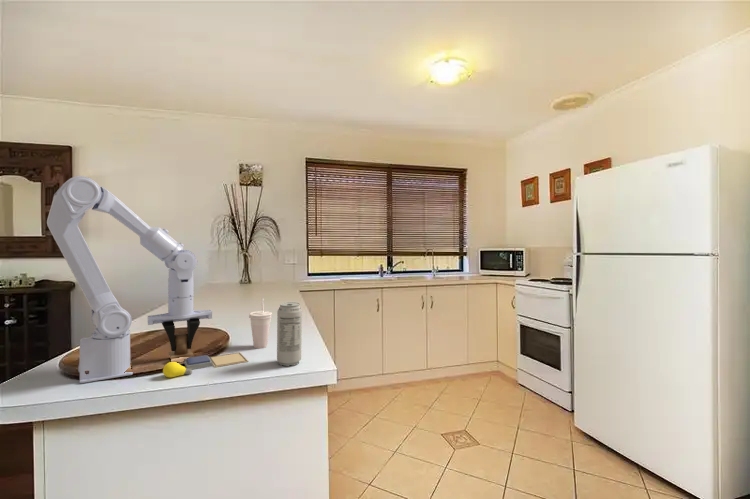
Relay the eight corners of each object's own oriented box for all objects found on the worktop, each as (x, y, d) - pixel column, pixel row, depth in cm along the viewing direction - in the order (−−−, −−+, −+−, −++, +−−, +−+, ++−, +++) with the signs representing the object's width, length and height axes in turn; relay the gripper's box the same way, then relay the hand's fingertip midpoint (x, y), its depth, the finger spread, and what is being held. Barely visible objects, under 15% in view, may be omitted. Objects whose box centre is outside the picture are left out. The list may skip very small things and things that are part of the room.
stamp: (171, 364, 92) (171, 338, 92) (168, 358, 96) (168, 333, 96) (193, 360, 95) (193, 335, 95) (190, 355, 99) (190, 331, 99)
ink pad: (187, 370, 88) (187, 364, 88) (184, 363, 92) (184, 357, 92) (212, 366, 91) (212, 360, 91) (208, 359, 96) (208, 354, 96)
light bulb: (160, 376, 84) (165, 360, 85) (188, 380, 87) (193, 364, 88) (161, 377, 81) (166, 360, 82) (190, 380, 84) (195, 364, 85)
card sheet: (214, 367, 90) (214, 366, 90) (208, 358, 97) (208, 357, 97) (248, 361, 95) (248, 360, 95) (240, 353, 101) (240, 352, 101)
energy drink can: (302, 358, 98) (302, 301, 97) (300, 366, 92) (301, 306, 91) (278, 359, 97) (279, 301, 97) (275, 367, 91) (275, 306, 91)
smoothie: (268, 350, 104) (268, 300, 104) (245, 349, 104) (245, 300, 104) (274, 343, 111) (275, 296, 110) (253, 343, 111) (253, 296, 110)
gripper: (208, 292, 102) (208, 341, 103) (146, 296, 94) (146, 349, 95) (214, 295, 96) (213, 347, 97) (148, 300, 88) (148, 357, 89)
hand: (181, 349), depth 95 cm, fingers closed on stamp, 3 cm apart
